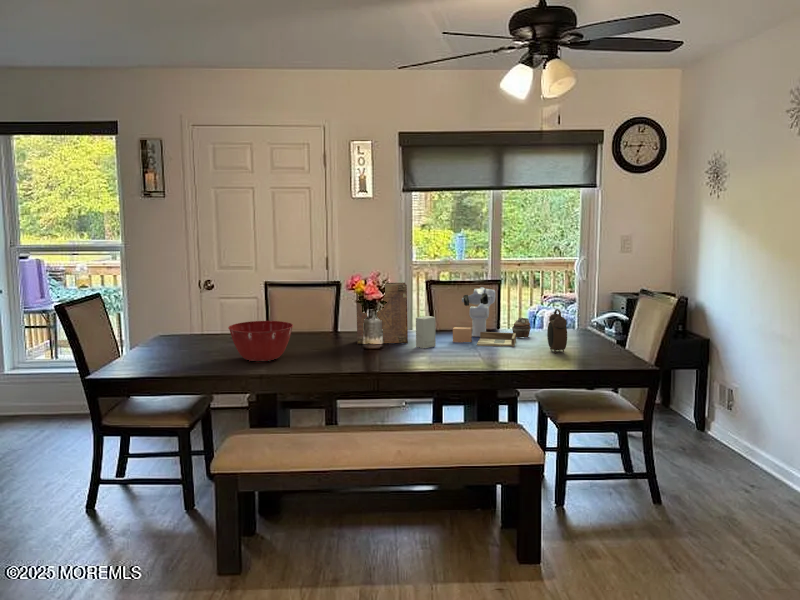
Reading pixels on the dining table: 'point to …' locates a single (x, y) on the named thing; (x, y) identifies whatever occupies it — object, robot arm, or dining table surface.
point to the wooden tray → (496, 339)
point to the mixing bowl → (261, 339)
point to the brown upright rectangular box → (389, 315)
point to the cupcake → (521, 327)
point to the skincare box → (425, 332)
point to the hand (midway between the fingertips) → (473, 301)
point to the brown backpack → (557, 332)
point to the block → (462, 334)
